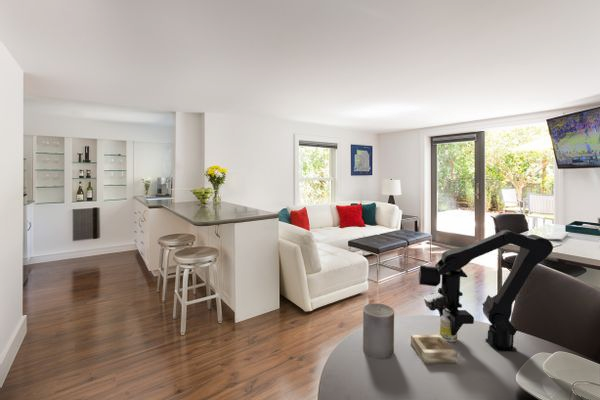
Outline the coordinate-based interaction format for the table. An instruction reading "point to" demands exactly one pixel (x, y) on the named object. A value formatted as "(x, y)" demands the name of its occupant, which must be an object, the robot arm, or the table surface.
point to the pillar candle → (378, 330)
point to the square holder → (433, 349)
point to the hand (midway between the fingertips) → (448, 331)
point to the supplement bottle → (446, 327)
